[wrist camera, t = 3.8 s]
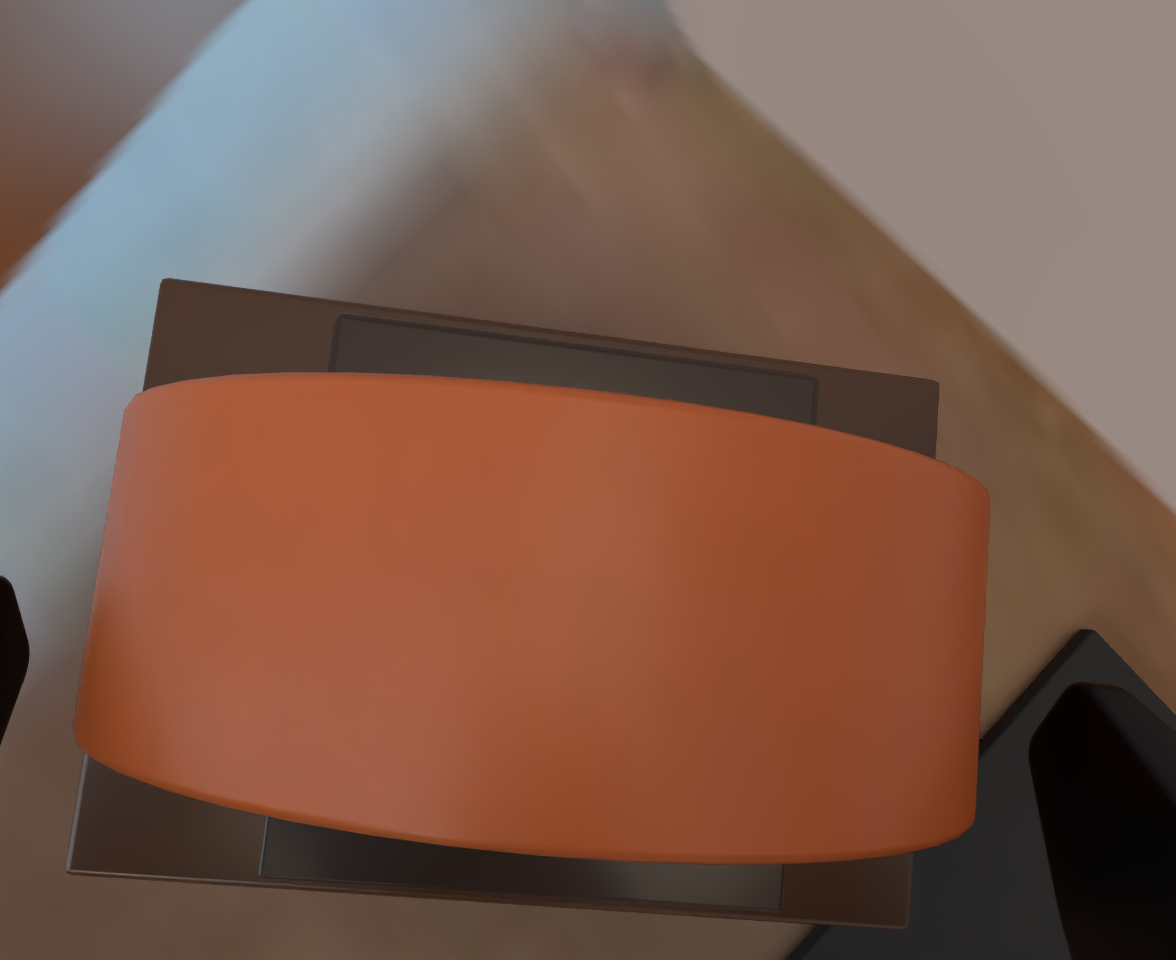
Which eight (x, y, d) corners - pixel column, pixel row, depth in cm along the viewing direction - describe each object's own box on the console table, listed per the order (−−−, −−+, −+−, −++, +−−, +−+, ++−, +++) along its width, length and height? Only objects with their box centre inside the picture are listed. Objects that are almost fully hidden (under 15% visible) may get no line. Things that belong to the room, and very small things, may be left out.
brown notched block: (791, 842, 16) (1022, 1016, 10) (177, 795, 15) (-52, 954, 9) (820, 434, 17) (1050, 331, 11) (241, 361, 16) (82, 193, 9)
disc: (813, 734, 12) (1219, 920, 5) (233, 678, 12) (-195, 797, 5) (827, 539, 12) (1226, 457, 5) (263, 478, 12) (-98, 307, 5)
